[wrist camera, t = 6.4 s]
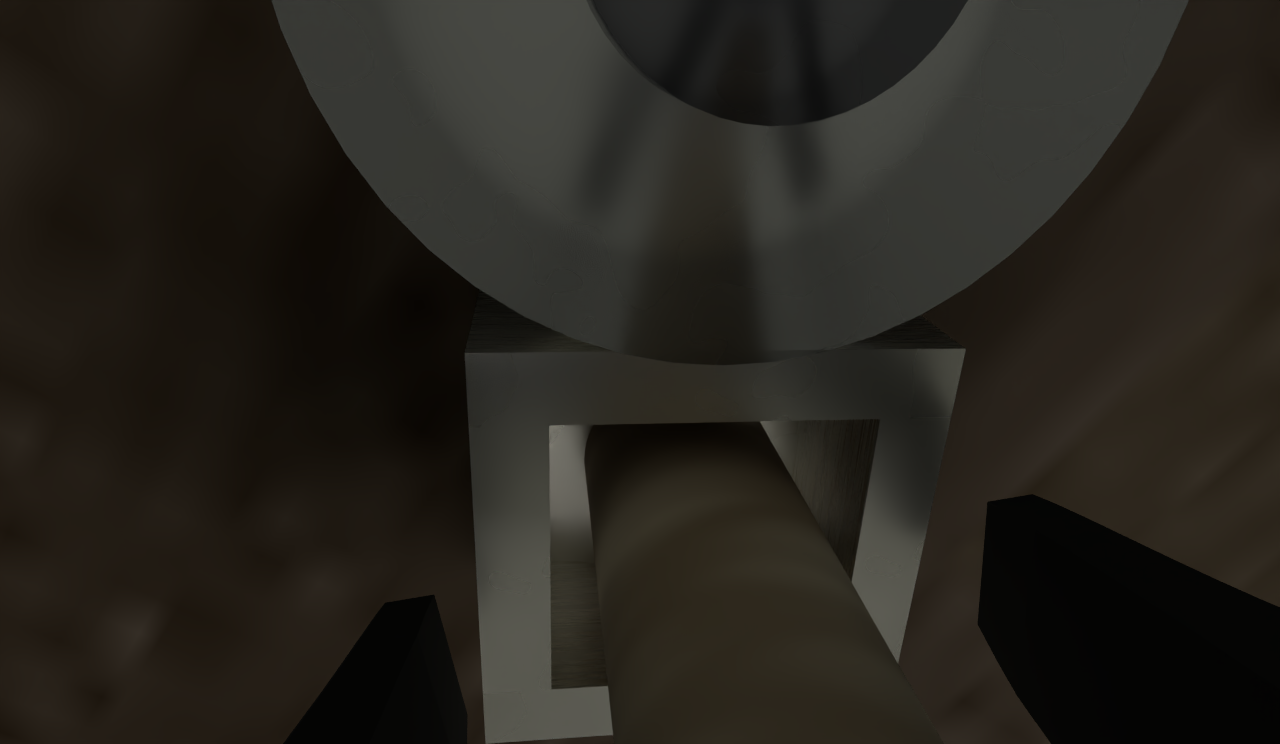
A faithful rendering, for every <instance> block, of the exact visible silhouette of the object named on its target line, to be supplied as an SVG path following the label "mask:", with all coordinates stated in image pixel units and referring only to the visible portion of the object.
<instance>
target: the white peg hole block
mask: <svg viewBox="0 0 1280 744" xmlns="http://www.w3.org/2000/svg"><path fill="white" fill-rule="evenodd" d="M272 3H273V6H274V9H275V12H276V15H277V18H278V22H279V25H280V28H281V30H282V33H283V35H284V37H285V39H286V41H287V44H288V46H289V48H290V50H291V53H292V55H293V57H294V59H295V61H296V64H297V66H298V68H299V70H300V73H301V75H302V77H303V79H304V81H305V84H306V86H307V88H308V90H309V93H310V95H311V97H312V98H313V100H314V102H315V103H316V105H317V107H318V108H319V110H320V112H321V113H322V115H323V117H324V118H325V120H326V122H327V123H328V125H329V127H330V128H331V130H332V132H333V133H334V135H335V137H336V138H337V140H338V142H339V143H340V145H341V147H342V148H343V150H344V152H345V153H346V155H347V156H348V157H349V159H350V160H351V161H352V163H353V164H354V165H355V166H356V168H357V169H358V170H359V172H360V173H361V174H362V176H363V177H364V178H365V179H366V181H367V182H368V183H369V185H370V186H371V187H372V189H373V190H374V191H375V192H376V194H377V195H378V196H379V198H380V199H381V200H382V202H383V203H384V204H385V205H386V207H387V208H388V209H389V210H390V211H391V212H392V213H393V214H394V215H395V216H396V217H397V218H398V219H399V220H400V221H401V222H402V223H403V224H404V225H405V226H406V227H407V228H408V229H409V230H410V231H411V232H412V233H413V234H414V235H415V236H416V237H417V238H418V239H419V240H420V241H421V242H422V243H423V244H424V245H425V246H426V247H427V248H428V249H429V250H430V251H431V252H432V253H434V254H435V255H436V256H437V257H439V258H440V259H441V260H442V261H444V262H445V263H446V264H447V265H449V266H450V267H451V268H452V269H454V270H455V271H456V272H457V273H459V274H460V275H461V276H462V277H464V278H465V279H466V280H467V281H469V282H470V283H471V284H472V285H474V286H475V287H477V288H478V289H479V293H478V298H477V302H476V306H475V311H474V315H473V319H472V324H471V328H470V332H469V336H468V341H467V345H466V349H465V369H466V387H467V406H468V424H469V443H470V461H471V480H472V498H473V517H474V535H475V554H476V572H477V591H478V609H479V628H480V646H481V665H482V683H483V702H484V720H485V739H486V743H501V742H515V741H530V740H544V739H558V738H573V737H587V736H601V735H613V730H612V720H611V711H610V702H609V692H608V683H607V673H606V664H605V654H604V645H603V635H602V626H601V616H600V607H599V597H598V588H597V579H596V569H595V560H594V550H593V541H592V531H591V522H590V512H589V503H588V493H587V484H586V474H585V465H584V457H585V448H586V443H587V439H588V436H589V433H590V431H591V429H592V427H593V425H605V424H654V423H703V422H753V421H760V423H761V424H762V426H763V428H764V430H765V431H766V433H767V435H768V437H769V438H770V440H771V442H772V444H773V445H774V447H775V449H776V451H777V452H778V454H779V456H780V458H781V460H782V461H783V463H784V465H785V467H786V468H787V470H788V472H789V474H790V475H791V477H792V479H793V481H794V482H795V484H796V486H797V488H798V489H799V491H800V493H801V495H802V496H803V498H804V500H805V502H806V503H807V505H808V507H809V509H810V510H811V512H812V514H813V516H814V517H815V519H816V521H817V523H818V524H819V526H820V528H821V530H822V531H823V533H824V535H825V537H826V538H827V540H828V542H829V544H830V545H831V547H832V549H833V551H834V552H835V554H836V556H837V558H838V559H839V561H840V563H841V565H842V566H843V568H844V570H845V572H846V573H847V575H848V577H849V579H850V580H851V582H852V584H853V586H854V588H855V589H856V591H857V593H858V595H859V596H860V598H861V600H862V602H863V603H864V605H865V607H866V609H867V610H868V612H869V614H870V616H871V617H872V619H873V621H874V623H875V624H876V626H877V628H878V630H879V631H880V633H881V635H882V637H883V638H884V640H885V642H886V644H887V645H888V647H889V649H890V651H891V652H892V654H893V656H894V658H895V659H896V661H897V663H898V660H899V656H900V651H901V647H902V642H903V637H904V633H905V628H906V623H907V619H908V614H909V610H910V605H911V600H912V596H913V591H914V586H915V582H916V577H917V572H918V568H919V563H920V559H921V554H922V549H923V545H924V540H925V535H926V531H927V526H928V521H929V517H930V512H931V508H932V503H933V498H934V494H935V489H936V484H937V480H938V475H939V470H940V466H941V461H942V457H943V452H944V447H945V443H946V438H947V433H948V429H949V424H950V420H951V415H952V410H953V406H954V401H955V396H956V392H957V387H958V382H959V378H960V373H961V369H962V364H963V359H964V355H965V350H966V348H964V347H963V346H962V345H960V344H959V343H957V342H956V341H955V340H953V339H952V338H951V337H949V336H948V335H947V334H945V333H944V332H942V331H941V330H940V329H938V328H937V327H936V326H934V325H933V324H932V323H930V322H929V321H928V320H926V319H925V318H923V317H922V316H921V314H923V313H925V312H927V311H928V310H930V309H932V308H933V307H935V306H937V305H938V304H940V303H942V302H943V301H945V300H947V299H948V298H950V297H952V296H953V295H955V294H957V293H958V292H960V291H962V290H963V289H965V288H967V287H968V286H970V285H971V284H972V283H974V282H975V281H976V280H978V279H979V278H980V277H981V276H983V275H984V274H985V273H987V272H988V271H989V270H991V269H992V268H993V267H995V266H996V265H997V264H999V263H1000V262H1001V261H1003V260H1004V259H1005V258H1007V257H1008V256H1009V255H1011V254H1012V253H1013V252H1014V251H1015V250H1016V249H1017V248H1018V247H1019V246H1021V245H1022V244H1023V243H1024V242H1025V241H1026V240H1027V239H1028V238H1029V237H1030V236H1031V235H1032V234H1033V233H1034V232H1036V231H1037V230H1038V229H1039V228H1040V227H1041V226H1042V225H1043V224H1044V223H1045V222H1046V221H1047V220H1048V219H1049V218H1051V217H1052V216H1053V215H1054V214H1055V212H1056V211H1057V210H1058V209H1059V208H1060V207H1061V206H1062V204H1063V203H1064V202H1065V201H1066V200H1067V199H1068V198H1069V196H1070V195H1071V194H1072V193H1073V192H1074V191H1075V190H1076V188H1077V187H1078V186H1079V185H1080V184H1081V183H1082V181H1083V180H1084V179H1085V178H1086V177H1087V176H1088V175H1089V173H1090V172H1091V171H1092V170H1093V169H1094V167H1095V166H1096V164H1097V163H1098V162H1099V160H1100V159H1101V157H1102V156H1103V155H1104V153H1105V152H1106V150H1107V149H1108V147H1109V146H1110V145H1111V143H1112V142H1113V140H1114V139H1115V138H1116V136H1117V135H1118V133H1119V132H1120V131H1121V129H1122V128H1123V126H1124V125H1125V124H1126V122H1127V121H1128V119H1129V117H1130V116H1131V114H1132V112H1133V110H1134V109H1135V107H1136V105H1137V103H1138V102H1139V100H1140V98H1141V96H1142V95H1143V93H1144V91H1145V90H1146V88H1147V86H1148V84H1149V83H1150V81H1151V79H1152V77H1153V76H1154V74H1155V72H1156V70H1157V69H1158V67H1159V65H1160V63H1161V61H1162V59H1163V56H1164V54H1165V52H1166V50H1167V47H1168V45H1169V43H1170V41H1171V39H1172V36H1173V34H1174V32H1175V30H1176V27H1177V25H1178V23H1179V21H1180V19H1181V16H1182V14H1183V12H1184V10H1185V7H1186V5H1187V3H1188V0H272Z"/></svg>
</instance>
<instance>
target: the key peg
mask: <svg viewBox="0 0 1280 744" xmlns="http://www.w3.org/2000/svg"><path fill="white" fill-rule="evenodd" d="M584 465H585V474H586V484H587V493H588V503H589V512H590V522H591V531H592V541H593V550H594V560H595V569H596V579H597V588H598V597H599V607H600V616H601V626H602V635H603V645H604V654H605V664H606V673H607V683H608V692H609V702H610V711H611V720H612V730H613V739H614V744H943V742H942V740H941V738H940V737H939V735H938V733H937V731H936V730H935V728H934V726H933V724H932V723H931V721H930V719H929V717H928V716H927V714H926V712H925V710H924V708H923V707H922V705H921V703H920V701H919V700H918V698H917V696H916V694H915V693H914V691H913V689H912V687H911V686H910V684H909V682H908V680H907V679H906V677H905V675H904V673H903V672H902V670H901V668H900V666H899V665H898V663H897V661H896V659H895V658H894V656H893V654H892V652H891V651H890V649H889V647H888V645H887V644H886V642H885V640H884V638H883V637H882V635H881V633H880V631H879V630H878V628H877V626H876V624H875V623H874V621H873V619H872V617H871V616H870V614H869V612H868V610H867V609H866V607H865V605H864V603H863V602H862V600H861V598H860V596H859V595H858V593H857V591H856V589H855V588H854V586H853V584H852V582H851V580H850V579H849V577H848V575H847V573H846V572H845V570H844V568H843V566H842V565H841V563H840V561H839V559H838V558H837V556H836V554H835V552H834V551H833V549H832V547H831V545H830V544H829V542H828V540H827V538H826V537H825V535H824V533H823V531H822V530H821V528H820V526H819V524H818V523H817V521H816V519H815V517H814V516H813V514H812V512H811V510H810V509H809V507H808V505H807V503H806V502H805V500H804V498H803V496H802V495H801V493H800V491H799V489H798V488H797V486H796V484H795V482H794V481H793V479H792V477H791V475H790V474H789V472H788V470H787V468H786V467H785V465H784V463H783V461H782V460H781V458H780V456H779V454H778V452H777V451H776V449H775V447H774V445H773V444H772V442H771V440H770V438H769V437H768V435H767V433H766V431H765V430H764V428H763V426H762V424H761V423H760V421H753V422H703V423H654V424H605V425H593V427H592V429H591V431H590V433H589V436H588V439H587V443H586V448H585V457H584Z"/></svg>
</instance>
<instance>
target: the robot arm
mask: <svg viewBox="0 0 1280 744" xmlns="http://www.w3.org/2000/svg"><path fill="white" fill-rule="evenodd" d="M978 626H979V628H980V630H981V631H982V633H983V635H984V637H985V639H986V641H987V643H988V645H989V646H990V648H991V650H992V652H993V654H994V656H995V658H996V660H997V661H998V663H999V665H1000V667H1001V669H1002V670H1003V672H1004V674H1005V676H1006V677H1007V679H1008V681H1009V682H1010V684H1011V686H1012V688H1013V689H1014V691H1015V693H1016V695H1017V696H1018V698H1019V699H1020V700H1021V702H1022V703H1023V705H1024V706H1025V708H1026V709H1027V710H1028V712H1029V713H1030V715H1031V716H1032V717H1033V719H1034V720H1035V722H1036V723H1037V724H1038V726H1039V727H1040V729H1041V730H1042V731H1043V733H1044V734H1045V736H1046V737H1047V738H1048V740H1049V741H1050V743H1051V744H1280V607H1278V606H1275V605H1273V604H1270V603H1268V602H1266V601H1263V600H1261V599H1259V598H1257V597H1254V596H1252V595H1250V594H1248V593H1245V592H1243V591H1241V590H1239V589H1236V588H1234V587H1232V586H1230V585H1227V584H1225V583H1223V582H1221V581H1219V580H1216V579H1214V578H1212V577H1210V576H1208V575H1205V574H1203V573H1201V572H1199V571H1197V570H1195V569H1193V568H1190V567H1188V566H1186V565H1184V564H1182V563H1180V562H1178V561H1175V560H1173V559H1171V558H1169V557H1167V556H1165V555H1163V554H1161V553H1159V552H1157V551H1154V550H1152V549H1150V548H1148V547H1146V546H1144V545H1142V544H1140V543H1138V542H1136V541H1134V540H1131V539H1129V538H1127V537H1125V536H1123V535H1121V534H1119V533H1117V532H1115V531H1113V530H1111V529H1109V528H1106V527H1104V526H1102V525H1100V524H1098V523H1096V522H1094V521H1092V520H1090V519H1087V518H1085V517H1083V516H1081V515H1079V514H1077V513H1075V512H1072V511H1070V510H1068V509H1066V508H1064V507H1062V506H1059V505H1057V504H1055V503H1052V502H1050V501H1048V500H1045V499H1043V498H1040V497H1038V496H1035V495H1033V494H1031V495H1025V496H1020V497H1014V498H1008V499H1002V500H996V501H990V502H988V503H987V515H986V528H985V540H984V552H983V565H982V577H981V589H980V602H979V614H978ZM283 744H467V712H466V708H465V704H464V701H463V697H462V693H461V690H460V686H459V683H458V679H457V675H456V672H455V668H454V665H453V661H452V657H451V654H450V650H449V647H448V643H447V639H446V636H445V632H444V628H443V625H442V621H441V618H440V614H439V610H438V607H437V603H436V600H435V596H434V595H429V596H423V597H417V598H411V599H405V600H399V601H393V602H387V603H385V604H384V605H383V606H382V608H381V609H380V610H379V611H378V613H377V614H376V616H375V617H374V618H373V620H372V621H371V622H370V624H369V625H368V627H367V628H366V630H365V631H364V632H363V634H362V635H361V637H360V638H359V640H358V641H357V642H356V644H355V645H354V647H353V648H352V650H351V651H350V652H349V654H348V655H347V657H346V658H345V660H344V661H343V662H342V664H341V665H340V667H339V668H338V669H337V671H336V672H335V674H334V675H333V677H332V678H331V679H330V681H329V682H328V684H327V685H326V686H325V688H324V689H323V691H322V692H321V693H320V695H319V696H318V697H317V699H316V700H315V702H314V703H313V704H312V706H311V707H310V708H309V710H308V711H307V712H306V714H305V715H304V716H303V718H302V719H301V720H300V722H299V723H298V724H297V726H296V727H295V729H294V730H293V731H292V733H291V734H290V735H289V737H288V738H287V739H286V741H285V742H284V743H283Z"/></svg>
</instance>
